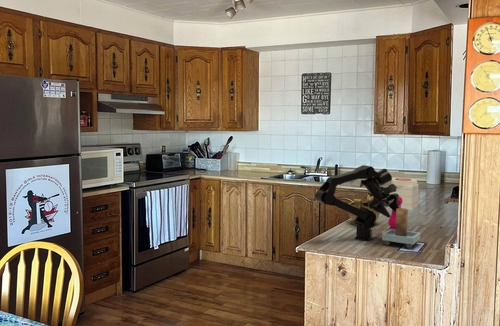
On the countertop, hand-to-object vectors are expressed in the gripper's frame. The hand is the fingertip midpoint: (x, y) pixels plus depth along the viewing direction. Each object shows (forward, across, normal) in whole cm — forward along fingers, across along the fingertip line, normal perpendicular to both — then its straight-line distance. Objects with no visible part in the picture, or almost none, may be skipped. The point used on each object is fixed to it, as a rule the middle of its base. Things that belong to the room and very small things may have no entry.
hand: (395, 215), depth 223 cm
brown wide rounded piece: (-14, +24, +33) cm, 43 cm away
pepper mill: (+1, +22, +18) cm, 28 cm away
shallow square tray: (+12, +1, +7) cm, 14 cm away
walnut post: (+9, +1, +5) cm, 10 cm away
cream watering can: (-24, +84, +45) cm, 98 cm away
